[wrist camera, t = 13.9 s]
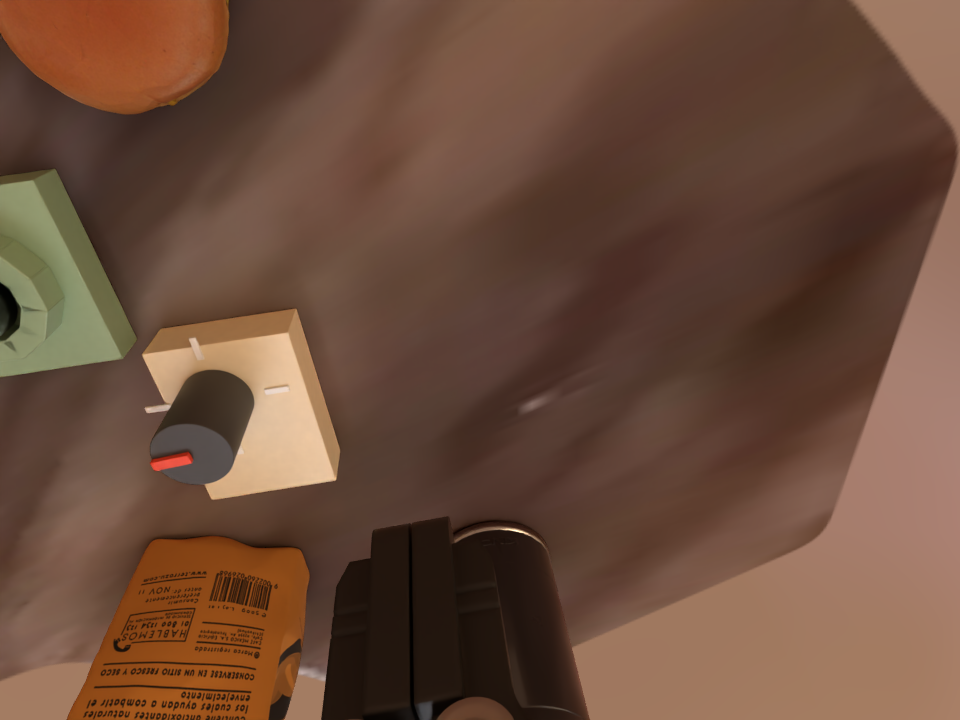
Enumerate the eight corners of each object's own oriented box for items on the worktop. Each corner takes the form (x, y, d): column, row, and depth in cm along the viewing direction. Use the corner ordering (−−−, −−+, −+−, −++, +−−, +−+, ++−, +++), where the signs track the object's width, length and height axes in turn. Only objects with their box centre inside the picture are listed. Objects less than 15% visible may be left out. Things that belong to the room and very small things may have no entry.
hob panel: (340, 450, 41) (336, 482, 39) (207, 471, 41) (193, 505, 39) (293, 298, 35) (284, 324, 33) (137, 322, 35) (114, 349, 32)
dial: (238, 362, 34) (213, 420, 29) (264, 418, 36) (244, 480, 31) (168, 377, 34) (132, 437, 29) (198, 432, 36) (169, 495, 31)
